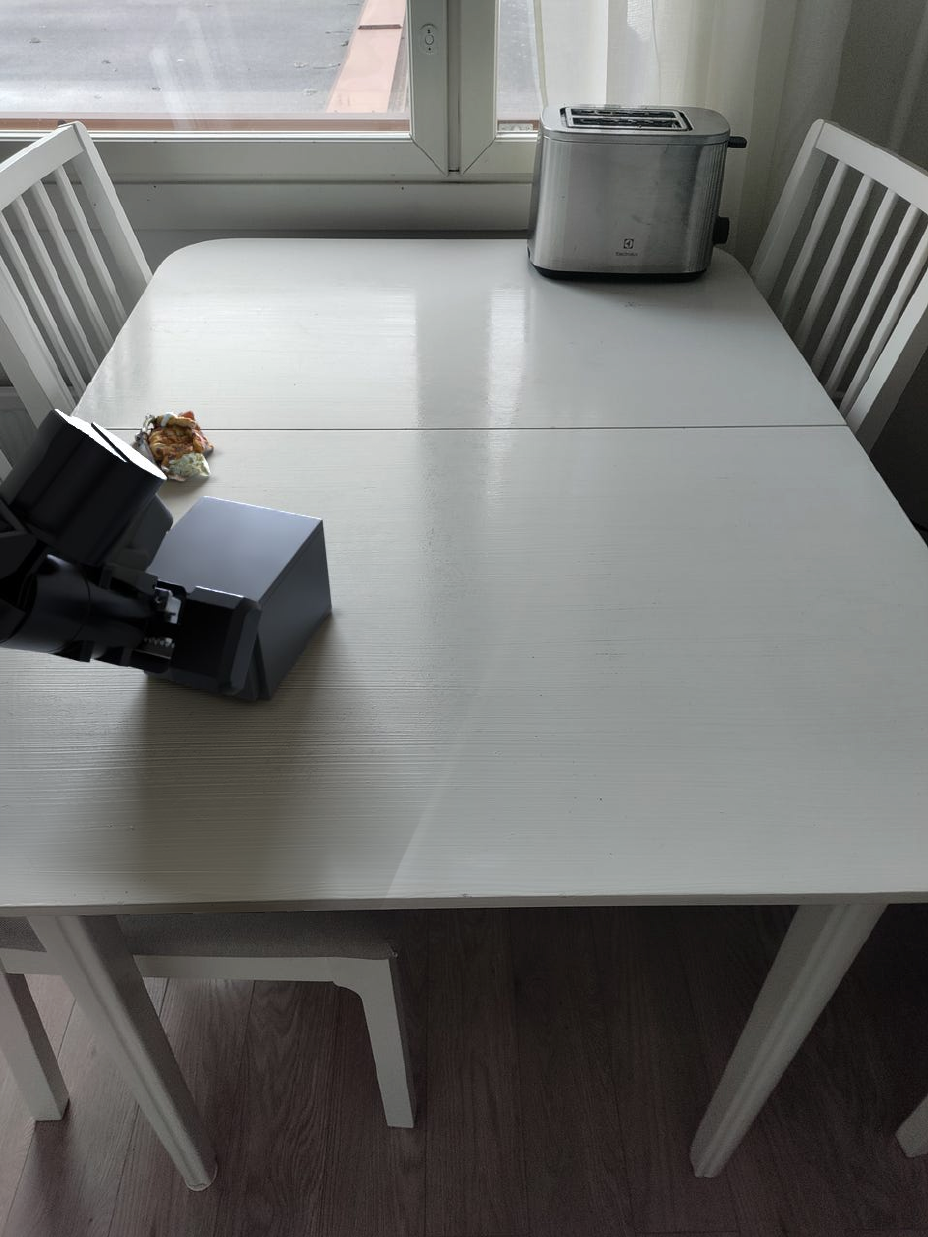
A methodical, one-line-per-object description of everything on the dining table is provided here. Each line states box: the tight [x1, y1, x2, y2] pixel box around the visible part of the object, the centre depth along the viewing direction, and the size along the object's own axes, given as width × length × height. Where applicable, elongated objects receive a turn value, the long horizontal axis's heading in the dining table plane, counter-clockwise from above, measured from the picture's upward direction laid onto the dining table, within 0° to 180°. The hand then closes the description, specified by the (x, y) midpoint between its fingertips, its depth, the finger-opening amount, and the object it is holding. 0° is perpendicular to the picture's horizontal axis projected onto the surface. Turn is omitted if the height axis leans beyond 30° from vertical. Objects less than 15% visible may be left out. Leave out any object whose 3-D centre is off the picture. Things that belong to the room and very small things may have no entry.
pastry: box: [134, 410, 215, 482], centre depth 102 cm, size 7×12×4 cm, turn 32°
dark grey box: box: [146, 495, 333, 701], centre depth 77 cm, size 12×11×9 cm
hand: (181, 630), depth 70 cm, fingers closed
